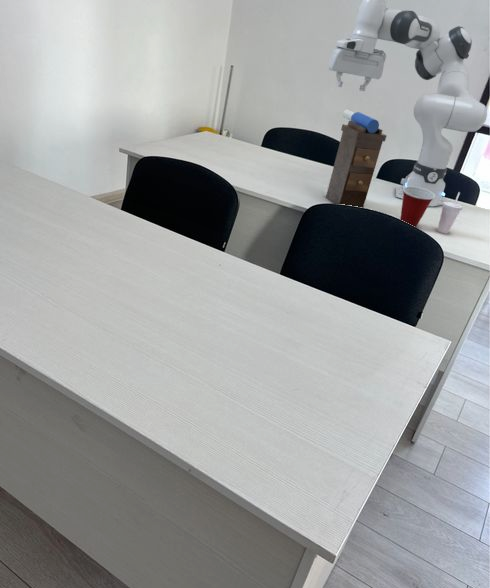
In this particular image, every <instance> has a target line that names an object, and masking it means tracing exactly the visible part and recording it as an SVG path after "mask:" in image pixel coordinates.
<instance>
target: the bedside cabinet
mask: <svg viewBox="0 0 490 588" xmlns="http://www.w3.org/2000/svg"><path fill="white" fill-rule="evenodd" d="M347 122H348V123H347V124H344V123H343V124H342V125H341V129H340V130H341V131H342V133H341V137H340V140H339V145H338V148H337V152H336V156H335V160H334V164H333V168H332V172H331V175H330V180H329V183H328V187H327V191H326V195H325V198H326V199H327V200H328V201H330V202H332V203H333V204H334V205H335V204H345V205H352V206H358V207H363V208H364V207H365V203H366V200H367V196H368V194H369V193H368V192H369V190H370V186H371V183H372V179H373V176H374V173H375V169H376V166H377V162H378V159H379V155H380V152H381V149H382V145H383V142H386V140H387V137H388V136H387V135H386V134H385V133H383V129H381V128H380V127H379V128H378V130H377V131H376V132H374V133H369V132H367V131H366V128H364V127H362V126H360V125H358V124H356V123H354V122H352V121H350V120H348V121H347Z"/></svg>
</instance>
